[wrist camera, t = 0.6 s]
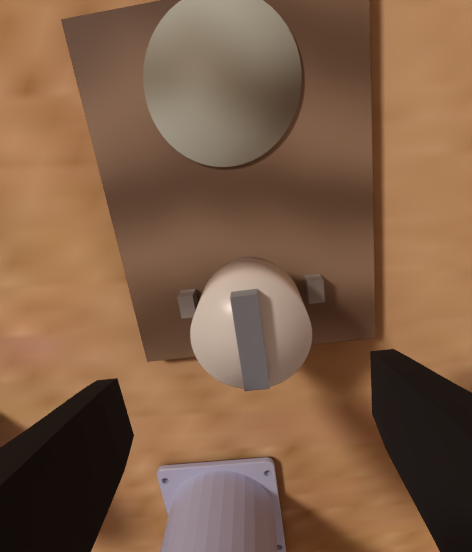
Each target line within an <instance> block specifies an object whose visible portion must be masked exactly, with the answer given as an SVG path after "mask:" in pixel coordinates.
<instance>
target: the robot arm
mask: <svg viewBox="0 0 472 552" xmlns="http://www.w3.org/2000/svg"><path fill="white" fill-rule="evenodd" d="M370 354H371V387H372V414H373V417H374V419H375V422H376V425H377V427H378V430H379V433H380V435H381V438H382V440H383V443H384V445H385V448H386V450H387V452H388V454H389V456H390V458H391V460H392V462H393V464H394V465H395V467H396V469H397V471H398V473H399V475H400V477H401V479H402V481H403V482H404V484H405V486H406V488H407V490H408V492H409V494H410V496H411V497H412V499H413V501H414V503H415V505H416V507H417V509H418V511H419V512H420V514H421V516H422V518H423V520H424V522H425V524H426V526H427V527H428V529H429V531H430V533H431V535H432V537H433V539H434V541H435V543H436V545H437V547H438V549H439V551H440V552H472V393H471V392H469V391H467V390H465V389H464V388H462V387H460V386H458V385H456V384H455V383H453V382H451V381H449V380H447V379H446V378H444V377H442V376H440V375H439V374H437V373H435V372H433V371H432V370H430V369H428V368H426V367H425V366H423V365H421V364H420V363H418V362H416V361H414V360H413V359H411V358H409V357H407V356H406V355H404V354H402V353H400V352H398V351H396V350H394V349H390V350H380V351H371V352H370ZM133 437H134V434H133V431H132V427H131V424H130V421H129V417H128V414H127V410H126V407H125V403H124V400H123V396H122V393H121V390H120V386H119V383H118V379H117V378H116V379H107V380H97V381H96V382H94V383H92V384H91V385H89V386H87V387H86V388H84V389H83V390H81V391H80V392H79V393H77V394H76V395H74V396H73V397H71V398H70V399H69V400H67V401H66V402H65V403H63V404H62V405H60V406H59V407H58V408H56V409H55V410H53V411H52V412H51V413H49V414H48V415H47V416H45V417H44V418H42V419H41V420H40V421H38V422H37V423H36V424H34V425H33V426H31V427H30V428H29V429H27V430H26V431H24V432H23V433H21V434H20V435H18V436H17V437H15V438H14V439H13V440H11V441H10V442H8V443H7V444H5V445H4V446H2V447H1V448H0V552H91V550H92V548H93V545H94V543H95V541H96V538H97V536H98V533H99V531H100V529H101V526H102V524H103V521H104V519H105V517H106V514H107V512H108V509H109V507H110V505H111V502H112V500H113V497H114V495H115V492H116V490H117V488H118V485H119V483H120V480H121V478H122V475H123V473H124V470H125V466H126V463H127V459H128V456H129V452H130V448H131V445H132V441H133ZM267 470H269V471H267ZM157 478H158V481H159V485H160V489H161V492H162V496H163V499H164V503H165V507H166V510H167V514H168V521H167V525H166V529H165V533H164V538H163V542H162V546H161V550H160V552H286V545H285V538H284V530H283V523H282V516H281V508H280V501H279V494H278V486H277V479H276V472H275V464H274V461H273V460H272V459H271V458H268V457H264V458H251V459H239V460H226V461H213V462H200V463H188V464H175V465H163V466H160V467H159V468H158V471H157ZM165 478H167V479H165Z"/></svg>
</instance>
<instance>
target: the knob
mask: <svg viewBox="0 0 472 552" xmlns="http://www.w3.org/2000/svg"><path fill="white" fill-rule="evenodd" d="M190 339H191V345H192V349H193V352H194V354H195V356H196V358H197V360H198V362H199V363H200V364H201V366H202V367H203V368H204V369H205V370H206V371H207V372H208V373H209V374H210V375H211V376H213V377H214V378H215V379H217V380H219V381H220V382H222V383H225V384H227V385H230V386H233V387H237V388H242V389H244V390H245V391H251V390H261V389H270V386H274V385H276V384H279V383H281V382H283V381H284V380H286V379H288V378H289V377H291V376H292V375H293V374H294V373H295V372H296V371H297V370H298V369H299V368H300V367H301V366H302V365H303V363H304V361H305V360H306V358H307V356H308V354H309V351H310V348H311V343H312V327H311V322H310V319H309V316H308V313H307V311H306V308H305V306H304V303H303V301H302V298H301V296H300V293H299V291H298V288H297V286H296V284H295V283H294V281H293V280H292V278H291V277H290V276H289V275H288V274H287V273H286V272H285V271H284V270H283V269H281V268H280V267H278V266H276V265H274V264H272V263H270V262H267V261H263V260H258V259H244V260H238V261H235V262H232V263H229V264H227V265H225V266H224V267H222V268H220V269H219V270H218V271H217V272H216V273H214V274H213V276H212V277H211V278H210V279H209V281H208V282H207V284H206V286H205V288H204V290H203V293H202V295H201V298H200V301H199V303H198V306H197V308H196V311H195V314H194V316H193V320H192V323H191V329H190Z"/></svg>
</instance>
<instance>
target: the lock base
mask: <svg viewBox="0 0 472 552" xmlns="http://www.w3.org/2000/svg"><path fill="white" fill-rule="evenodd" d="M61 21H62V25H63V29H64V33H65V37H66V41H67V45H68V49H69V53H70V57H71V61H72V65H73V69H74V73H75V77H76V81H77V85H78V88H79V92H80V96H81V100H82V104H83V108H84V112H85V116H86V120H87V124H88V128H89V132H90V136H91V140H92V144H93V148H94V152H95V156H96V160H97V164H98V168H99V172H100V176H101V180H102V184H103V188H104V192H105V196H106V200H107V204H108V208H109V211H110V215H111V219H112V223H113V227H114V231H115V235H116V239H117V243H118V247H119V251H120V255H121V259H122V263H123V267H124V271H125V275H126V279H127V283H128V287H129V291H130V295H131V299H132V303H133V307H134V311H135V315H136V319H137V323H138V327H139V331H140V334H141V338H142V342H143V346H144V350H145V354H146V358H147V362H149V361H159V360H169V359H178V358H188V357H196V356H195V354H194V352H193V349H192V345H191V339H190V329H191V323H192V320H193V316H194V314H195V311H196V308H197V306H198V303H199V301H200V298H201V295H202V293H203V290H204V288H205V286H206V284H207V282H208V281H209V279H210V278H211V277H212V276H213V274H214V273H216V272H217V271H218V270H219V269H220V268H222V267H224V266H225V265H227V264H229V263H232V262H235V261H238V260H244V259H258V260H263V261H267V262H270V263H272V264H274V265H276V266H278V267H280V268H281V269H283V270H284V271H285V272H286V273H287V274H288V275H289V276H290V277H291V278H292V280H293V281H294V283H295V284H296V286H297V288H298V291H299V293H300V296H301V298H302V301H303V303H304V306H305V308H306V311H307V313H308V316H309V319H310V322H311V327H312V343H311V345H312V344H322V343H331V342H341V341H351V340H360V339H370V338H376V331H375V275H374V219H373V163H372V107H371V51H370V0H160V1H155V2H150V3H144V4H139V5H134V6H129V7H124V8H119V9H113V10H108V11H103V12H98V13H93V14H87V15H82V16H77V17H72V18H67V19H61Z"/></svg>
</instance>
